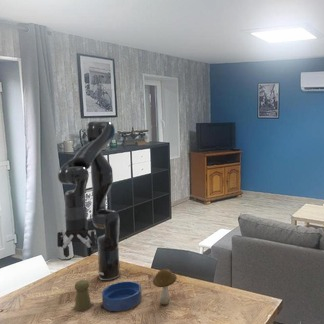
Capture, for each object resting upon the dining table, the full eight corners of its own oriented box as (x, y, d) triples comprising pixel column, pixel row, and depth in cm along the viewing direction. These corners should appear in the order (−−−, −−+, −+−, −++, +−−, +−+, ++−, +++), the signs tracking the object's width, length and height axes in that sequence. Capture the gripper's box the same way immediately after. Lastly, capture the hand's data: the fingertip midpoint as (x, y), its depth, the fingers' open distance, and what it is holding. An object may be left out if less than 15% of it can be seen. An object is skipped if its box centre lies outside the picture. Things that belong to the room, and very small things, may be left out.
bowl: (108, 294, 148) (108, 282, 148) (144, 292, 150) (143, 280, 150) (97, 313, 134) (97, 300, 133) (137, 311, 135) (137, 298, 135)
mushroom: (180, 297, 146) (180, 264, 145) (170, 311, 135) (169, 276, 133) (160, 295, 148) (160, 262, 146) (149, 309, 137) (148, 274, 135)
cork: (84, 312, 135) (83, 285, 133) (71, 310, 136) (69, 284, 134) (94, 304, 140) (93, 278, 139) (81, 302, 142) (80, 277, 140)
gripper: (98, 213, 137) (100, 251, 139) (61, 214, 136) (63, 253, 138) (91, 218, 130) (93, 259, 132) (52, 219, 128) (55, 260, 130)
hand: (78, 255), depth 135 cm, fingers open, 8 cm apart
